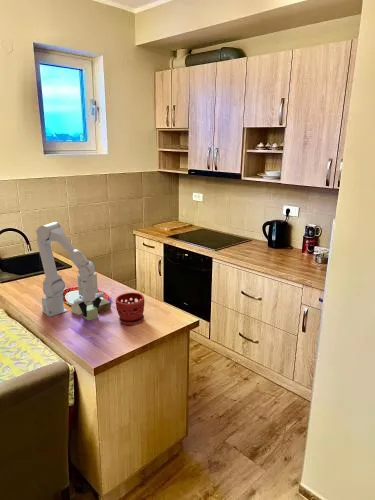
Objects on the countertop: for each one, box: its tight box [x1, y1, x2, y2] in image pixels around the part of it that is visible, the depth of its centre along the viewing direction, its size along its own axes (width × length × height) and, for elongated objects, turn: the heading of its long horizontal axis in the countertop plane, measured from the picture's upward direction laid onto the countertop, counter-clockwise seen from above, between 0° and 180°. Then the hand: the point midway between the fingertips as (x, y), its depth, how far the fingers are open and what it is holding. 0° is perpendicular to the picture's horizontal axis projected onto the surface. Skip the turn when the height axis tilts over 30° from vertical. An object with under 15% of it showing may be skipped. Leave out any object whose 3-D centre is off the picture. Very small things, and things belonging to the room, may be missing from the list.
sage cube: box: [82, 304, 99, 322], centre depth 172 cm, size 5×5×5 cm
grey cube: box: [70, 301, 87, 316], centre depth 178 cm, size 5×5×5 cm
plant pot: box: [115, 292, 145, 326], centre depth 168 cm, size 13×13×12 cm
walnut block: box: [98, 298, 112, 314], centre depth 181 cm, size 6×6×4 cm
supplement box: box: [76, 272, 99, 296], centre depth 195 cm, size 7×7×13 cm
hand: (90, 314), depth 173 cm, fingers closed on sage cube, 5 cm apart
